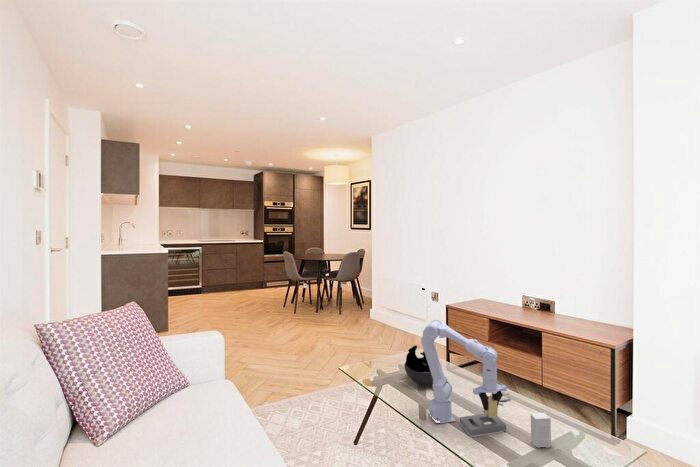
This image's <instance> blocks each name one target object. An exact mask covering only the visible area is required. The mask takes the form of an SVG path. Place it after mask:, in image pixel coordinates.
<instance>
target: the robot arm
mask: <svg viewBox="0 0 700 467" xmlns="http://www.w3.org/2000/svg"><path fill="white" fill-rule="evenodd" d="M437 337H439V339H443V338H448V339H450V340H452V341H454V342H456V343H457V344H459V345H461V346H463V348H464V349H465V351H466V352H467V353H469V354H471V355H473V356H475V358H478V359H479V360H480V361H481V362H482V370H481V371H482V385H480V386H478V387H475V388H472V394H473V395H475V396H477V395H478V397H479V399H480V401H481V405H482V409H483V410H484V409H485V410H487V402H488V398H489V397H488V396H489V395H487V393H490V394H491V393H492V396H493V397H494V398H495V399H496V400H497V408H498V407H499V405H498V404H499V403H500V402H501V401H500V399H501V398H502V397H504V396H503V392H507V390H508V389H507V388H508V387H507V386H506V385H505V384H498V367H497V358H498V352H497V350H496V349H494V348H493V347H491V346H487V345H486V346H485V345H483V344H482V343H480V342H479V341H478V340H477V339H476V338H474V339H473V338H469V339H468V338H466V337H465V336H463V335H462V334H460V333H459V332H457V331H456V330H454V329H453V328H451V327H450V326H448V325H447V323H445V322H442V321H441V320H439V319H434V320H432V321H431V322H430V323H429V324H428V325H427V326H425V327H424V328H423V331H422V336H421V346H422V349H423V351H424V352H425V356H426V359H427V362H428V365H429V368H430V371H431V374H432V378H433V382H432V389H433V391H432V392H433V399H431V400H429V402H428V404H429V405H428V406H429V407H428V408H429V414H430V415H431V417H433V418H434V419H435V420H437V421H440V424H445V423H453V422H456V419H455V418H454V417H453V416H452V412H453V411H452V397H451V393H452V391H453V386H452V384H451V382H449V380H448V378H447V376H445V375H444V371H443V368H442V364H441V361H440V358H439V355H438V352H437V349H436V346H435V341H436V339H437ZM431 417H430V418H431Z"/></svg>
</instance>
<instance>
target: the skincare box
mask: <svg viewBox="0 0 700 467" xmlns="http://www.w3.org/2000/svg"><path fill="white" fill-rule="evenodd" d="M551 422H552V421H551V417H550V416H549V415H547V414H546V412H536V413H535V412H534V413H530V440H531V441H532V442H533V443H534V444H535V446H536V447H546V448H552V430H551V429H552V427H551V426H552V425H551V424H552V423H551ZM531 441H530V442H531ZM532 442H531V443H532ZM533 443H532V444H533ZM535 446H534V447H535ZM536 447H535V448H536Z"/></svg>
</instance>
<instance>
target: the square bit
mask: <svg viewBox="0 0 700 467" xmlns="http://www.w3.org/2000/svg"><path fill="white" fill-rule="evenodd" d="M487 396H488V397H489V398H488V402H487V410H485V409H484V408H483V414H486V415H487V416H488V417H489V418H490V417H498V407H497V400H496V399H495V398H494V397H493V396H490V395H487Z"/></svg>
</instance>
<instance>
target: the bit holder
mask: <svg viewBox="0 0 700 467" xmlns="http://www.w3.org/2000/svg"><path fill="white" fill-rule="evenodd" d="M459 424H460V426H461V427H462V428H463V429H464V430H465V431H466V433H467V434H468V436H469V437H470V438H474V437H482V436H487V435H494V434H500V432H501V433H504V432H503V431H505V430H506V431H507V424H506V423H505V422H504V421H503V420H502V419H501V418H499V417H498V416H497V417H490V418H489V417H488V416H487V415H486V414H485V413H480V414H472V415H465V416H460V417H459Z"/></svg>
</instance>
